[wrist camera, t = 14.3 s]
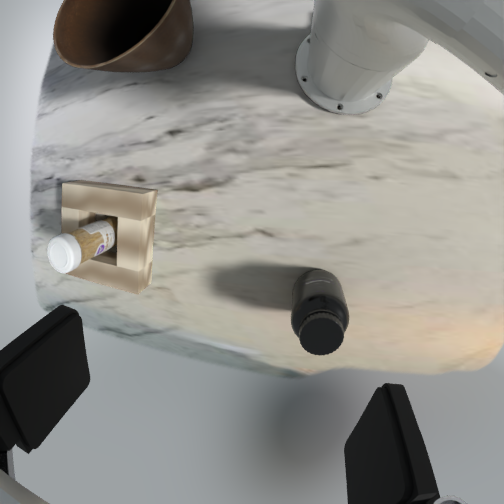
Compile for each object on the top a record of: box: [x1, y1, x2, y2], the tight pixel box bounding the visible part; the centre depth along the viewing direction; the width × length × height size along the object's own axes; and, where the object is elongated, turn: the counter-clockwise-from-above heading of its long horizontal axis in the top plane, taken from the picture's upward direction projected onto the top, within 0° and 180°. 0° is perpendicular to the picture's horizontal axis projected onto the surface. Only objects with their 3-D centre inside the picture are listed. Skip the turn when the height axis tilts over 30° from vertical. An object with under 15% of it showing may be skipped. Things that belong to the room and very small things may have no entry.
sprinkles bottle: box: [47, 216, 118, 273], centre depth 38 cm, size 5×5×13 cm
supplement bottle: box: [291, 270, 349, 355], centre depth 37 cm, size 7×7×12 cm
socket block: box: [62, 180, 158, 295], centre depth 42 cm, size 14×14×4 cm
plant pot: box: [53, 0, 193, 72], centre depth 27 cm, size 15×15×16 cm
